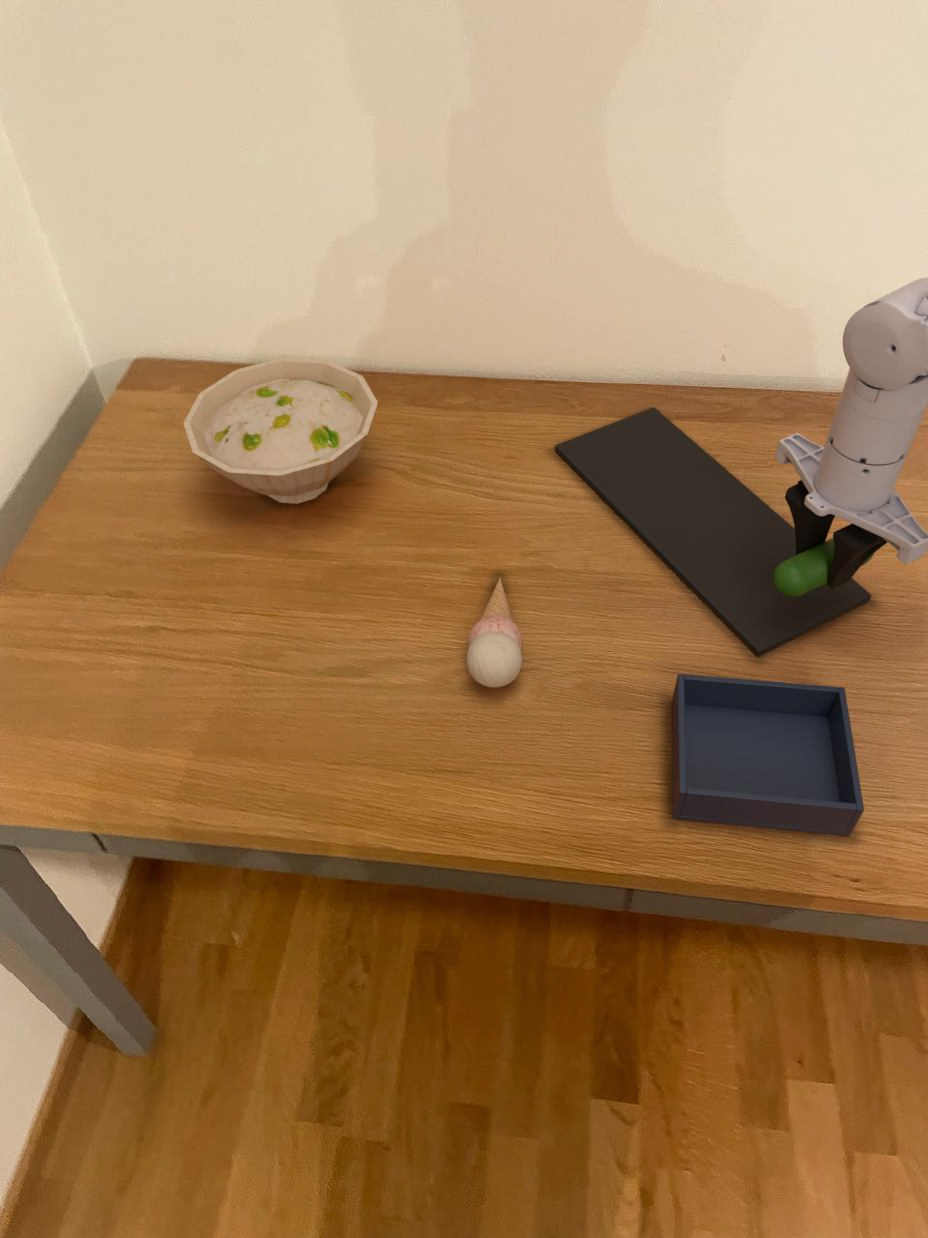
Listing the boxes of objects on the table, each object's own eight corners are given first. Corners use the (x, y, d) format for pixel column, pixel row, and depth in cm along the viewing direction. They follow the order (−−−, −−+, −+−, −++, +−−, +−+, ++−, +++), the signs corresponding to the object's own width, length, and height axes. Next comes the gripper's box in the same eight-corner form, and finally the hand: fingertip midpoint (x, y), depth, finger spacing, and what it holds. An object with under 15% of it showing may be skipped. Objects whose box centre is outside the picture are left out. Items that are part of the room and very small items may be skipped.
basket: (831, 716, 76) (844, 687, 73) (849, 836, 69) (864, 810, 66) (671, 702, 78) (677, 673, 75) (672, 818, 71) (679, 792, 68)
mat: (869, 601, 84) (872, 595, 84) (757, 657, 81) (759, 651, 80) (653, 412, 104) (653, 406, 103) (554, 451, 100) (554, 445, 99)
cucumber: (850, 543, 82) (860, 517, 79) (876, 565, 80) (888, 539, 78) (761, 585, 79) (769, 559, 77) (787, 610, 77) (795, 584, 75)
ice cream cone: (489, 603, 90) (481, 706, 78) (466, 567, 88) (454, 666, 76) (533, 586, 88) (531, 688, 76) (511, 548, 86) (505, 647, 74)
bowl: (381, 416, 105) (371, 339, 98) (393, 533, 93) (382, 454, 85) (211, 434, 104) (187, 357, 97) (199, 555, 92) (171, 477, 84)
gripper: (761, 407, 72) (729, 534, 82) (902, 517, 63) (848, 643, 73) (830, 379, 74) (791, 506, 84) (976, 481, 65) (913, 609, 75)
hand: (822, 568), depth 79 cm, fingers closed on cucumber, 3 cm apart
